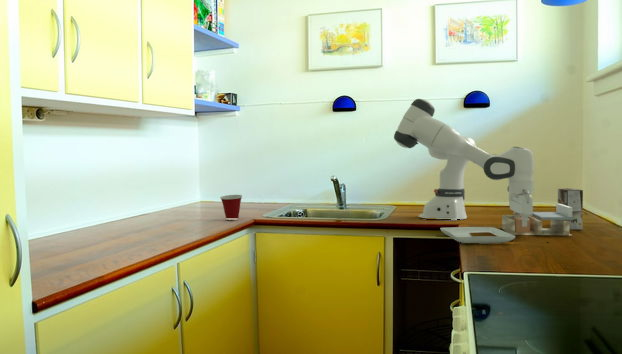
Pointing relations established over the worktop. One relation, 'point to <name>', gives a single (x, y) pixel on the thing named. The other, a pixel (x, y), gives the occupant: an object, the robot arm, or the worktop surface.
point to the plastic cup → (231, 205)
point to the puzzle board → (536, 226)
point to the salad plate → (465, 237)
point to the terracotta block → (520, 228)
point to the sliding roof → (556, 213)
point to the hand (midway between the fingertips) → (520, 224)
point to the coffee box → (573, 205)
